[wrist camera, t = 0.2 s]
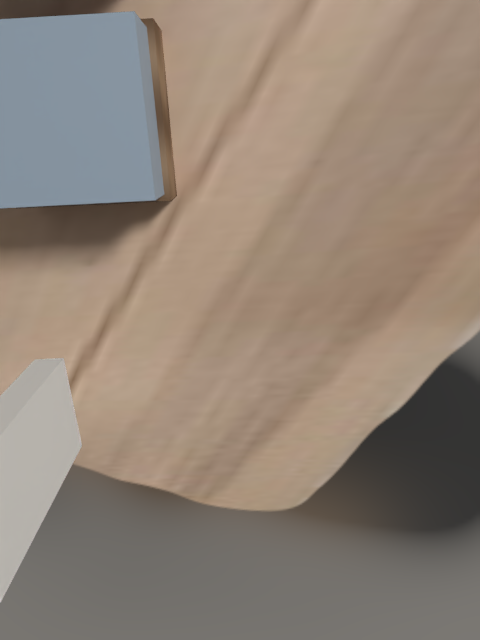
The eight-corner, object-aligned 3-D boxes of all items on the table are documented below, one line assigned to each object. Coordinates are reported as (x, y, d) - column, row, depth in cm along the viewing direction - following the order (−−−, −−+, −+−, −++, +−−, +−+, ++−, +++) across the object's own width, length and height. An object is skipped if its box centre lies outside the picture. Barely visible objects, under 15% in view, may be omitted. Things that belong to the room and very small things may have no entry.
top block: (-14, 36, 31) (-49, 21, 28) (146, 27, 31) (134, 11, 27) (21, 201, 35) (-5, 208, 32) (164, 194, 35) (155, 200, 31)
